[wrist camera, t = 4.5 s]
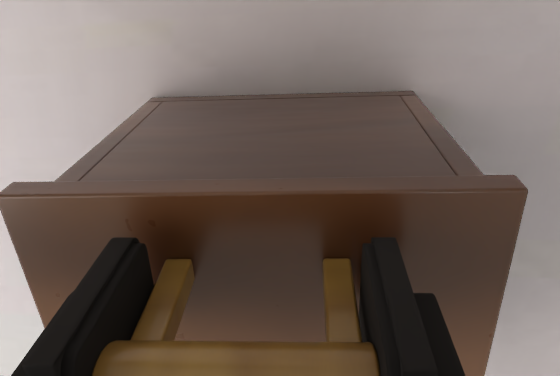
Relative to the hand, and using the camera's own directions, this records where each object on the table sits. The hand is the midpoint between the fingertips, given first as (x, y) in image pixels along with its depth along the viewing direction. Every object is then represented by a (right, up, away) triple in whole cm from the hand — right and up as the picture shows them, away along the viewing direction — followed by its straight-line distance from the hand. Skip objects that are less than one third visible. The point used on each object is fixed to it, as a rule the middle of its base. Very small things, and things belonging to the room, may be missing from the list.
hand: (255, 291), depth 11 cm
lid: (0, -4, +4) cm, 6 cm away
